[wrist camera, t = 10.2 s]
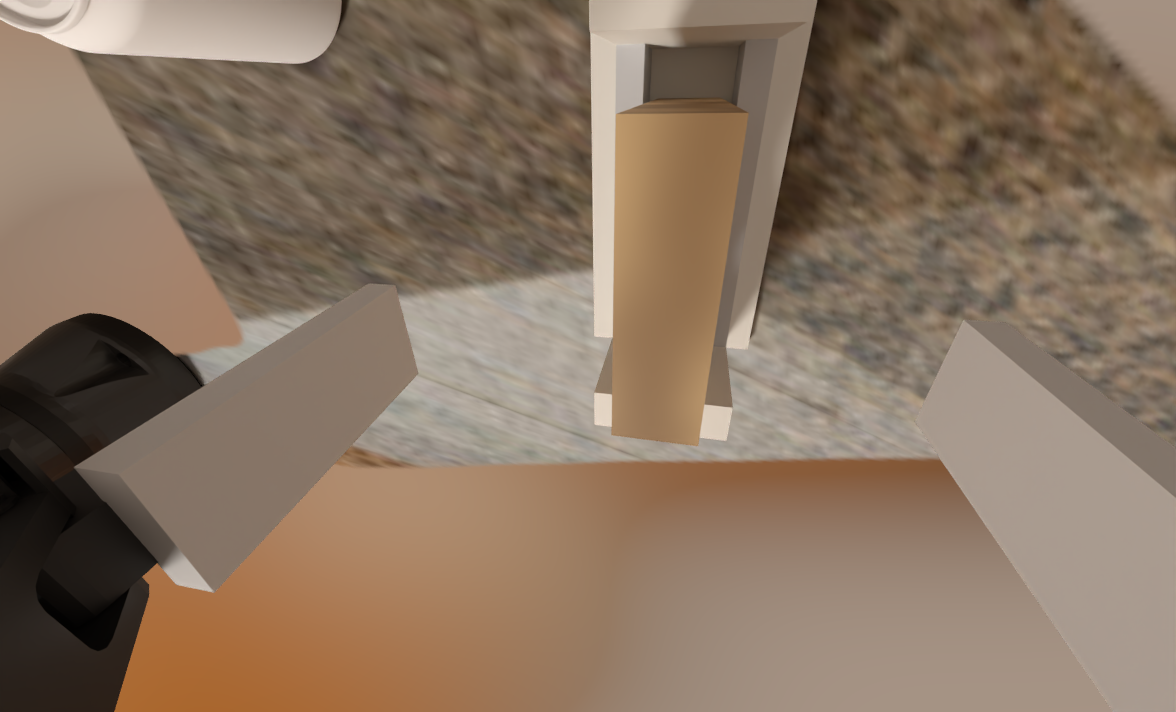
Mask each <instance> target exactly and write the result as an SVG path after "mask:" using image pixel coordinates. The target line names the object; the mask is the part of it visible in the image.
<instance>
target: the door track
mask: <svg viewBox="0 0 1176 712" xmlns="http://www.w3.org/2000/svg"><path fill="white" fill-rule="evenodd" d="M816 4H817V0H589V26H590V32H591V104H592V185H593V266H594V336H597V337H608V338H612V341H611V344H610V347H609V350H608V353H607V356H606V359H605V362H604V365H603V368H602V371H601V374H600V377H599V380H598V383H597V386H596V389H595V392H594V401H595V425H602V426H611V427H612V361H613V283H614V206H615V128H616V114H617V113H620V112H623V111H625V110H628V109H631V108H634V107H636V106H639V105H642V104H645V103H647V102H650V101H653V100H656V99H658V98H722V99H724V100H726V101H728V102H730V103H731V104H733V105H735V106H737V107H739V108H741V109H743V110H745V111H746V112H748V113H749V115H748V121H747V128H746V134H745V141H744V147H743V154H742V161H741V167H740V174H739V180H738V187H737V193H736V200H735V207H734V213H733V220H732V226H731V233H730V239H729V246H728V253H727V259H726V266H725V272H724V279H723V285H722V292H721V299H720V305H719V312H718V318H717V325H716V331H715V338H714V345H713V351H712V358H711V364H710V371H709V377H708V384H707V391H706V397H705V404H704V410H703V417H702V423H701V430H700V438H708V439H716V440H724V441H726V440H727V435H728V429H729V424H730V419H731V414H732V409H733V406H732V397H731V388H730V379H729V370H728V361H727V352H726V348H737V349H748V344H749V339H750V334H751V329H752V324H753V319H754V314H755V309H756V304H757V299H758V294H759V289H760V284H761V279H762V274H763V269H764V264H765V259H766V254H767V249H768V244H769V239H770V234H771V229H772V224H773V219H774V214H775V209H776V204H777V199H778V194H779V189H780V184H781V179H782V174H783V169H784V164H785V159H786V154H787V149H788V144H789V139H790V134H791V129H792V124H793V119H794V114H795V109H796V104H797V99H798V94H799V89H800V84H801V79H802V74H803V69H804V64H805V59H806V54H807V49H808V44H809V39H810V34H811V29H812V24H813V19H814V14H815V9H816Z"/></svg>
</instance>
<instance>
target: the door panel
mask: <svg viewBox="0 0 1176 712" xmlns="http://www.w3.org/2000/svg"><path fill="white" fill-rule="evenodd" d="M748 115H749V113H748V112H746V111H745V110H743V109H741V108H739V107H737V106H735V105H733V104H731V103H730V102H728V101H726V100H724V99H722V98H658V99H656V100H653V101H650V102H647V103H645V104H642V105H639V106H636V107H634V108H631V109H628V110H625V111H623V112H620V113H617V114H616V128H615V206H614V283H613V361H612V435H615V436H622V437H630V438H638V439H646V440H654V441H662V442H670V443H677V444H685V445H693V446H698V443H699V437H700V430H701V423H702V417H703V410H704V404H705V397H706V391H707V384H708V377H709V371H710V364H711V358H712V351H713V345H714V338H715V331H716V325H717V318H718V312H719V305H720V299H721V292H722V285H723V279H724V272H725V266H726V259H727V253H728V246H729V239H730V233H731V226H732V220H733V213H734V207H735V200H736V193H737V187H738V180H739V174H740V167H741V161H742V154H743V147H744V141H745V134H746V128H747V121H748Z"/></svg>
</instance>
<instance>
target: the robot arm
mask: <svg viewBox="0 0 1176 712" xmlns="http://www.w3.org/2000/svg"><path fill="white" fill-rule="evenodd" d="M417 374H418V370H417V366H416V362H415V359H414V355H413V351H412V347H411V344H410V340H409V336H408V332H407V328H406V325H405V321H404V317H403V313H402V310H401V306H400V302H399V298H398V294H397V291H396V287H395V285H384V284H367V285H366V286H364V287H362V288H361V289H359V290H358V291H356V292H354V293H353V294H351V295H349V296H348V297H346V298H345V299H343V300H341V301H340V302H338V303H337V304H335V305H333V306H332V307H330V308H329V309H327V310H325V311H324V312H322V313H321V314H319V315H317V316H316V317H314V318H313V319H311V320H309V321H308V322H306V323H304V324H303V325H301V326H300V327H298V328H296V329H295V330H293V331H292V332H290V333H288V334H287V335H285V336H284V337H282V338H280V339H279V340H277V341H276V342H274V343H272V344H271V345H269V346H268V347H266V348H264V349H263V350H261V351H259V352H258V353H256V354H255V355H253V356H251V357H250V358H248V359H247V360H245V361H243V362H242V363H240V364H239V365H237V366H235V367H234V368H232V369H231V370H229V371H227V372H226V373H224V374H223V375H221V376H219V377H218V378H216V379H215V380H213V381H211V382H210V383H208V384H206V385H205V386H203V387H202V388H201V386H200V385H199V383H198V382H197V380H196V379H195V378H194V376H193V375H192V374H191V372H190V371H189V370H188V369H187V368H186V367H185V366H184V364H183V363H182V362H181V361H180V360H179V359H178V358H177V357H176V356H175V355H173V354H172V353H171V352H170V351H169V350H168V349H166V348H165V347H164V346H163V345H162V344H160V343H159V342H158V341H156V340H155V339H154V338H152V337H151V336H149V335H148V334H146V333H145V332H143V331H141V330H140V329H138V328H136V327H134V326H132V325H130V324H128V323H126V322H124V321H122V320H119V319H116V318H113V317H110V316H106V315H102V314H94V313H93V314H92V313H88V314H82V315H79V316H76V317H73V318H71V319H68V320H66V321H63V322H61V323H58V324H55V325H53V326H51V327H49V328H48V329H46V330H45V331H44V332H42V333H41V334H40V335H39V336H37V337H36V338H35V339H33V340H32V341H31V342H30V343H28V344H27V345H26V346H24V347H23V348H22V349H21V350H19V351H18V352H17V353H15V354H14V355H13V356H11V357H10V358H9V359H8V360H6V361H5V362H4V363H2V364H1V365H0V712H114V710H115V707H116V704H117V701H118V697H119V694H120V691H121V687H122V684H123V681H124V677H125V674H126V671H127V667H128V664H129V661H130V657H131V654H132V651H133V647H134V644H135V641H136V637H137V634H138V631H139V627H140V624H141V621H142V617H143V614H144V611H145V607H146V604H147V601H148V597H149V584H148V583H147V582H146V581H145V580H144V579H143V578H142V576H143V575H144V574H145V573H147V572H148V571H149V570H150V569H151V568H152V567H153V566H154V565H155V564H156V563H158V564H159V565H160V567H161V568H162V569H163V570H164V571H165V572H166V573H167V574H168V576H169V577H170V578H171V579H172V580H173V581H174V583H175V584H176V585H181V586H186V587H190V588H195V589H200V590H205V591H210V592H215V591H216V590H217V589H218V588H219V587H220V586H221V585H222V584H223V583H224V582H225V581H226V579H227V578H228V577H229V576H230V575H231V574H232V573H233V572H234V571H235V570H236V569H237V568H238V567H239V566H240V564H241V563H242V562H243V561H244V560H245V559H246V558H247V557H248V556H249V555H250V554H251V553H252V551H253V550H254V549H255V548H256V547H257V546H258V545H259V544H260V543H261V542H262V541H263V540H264V539H265V538H266V536H267V535H268V534H269V533H270V532H271V531H272V530H273V529H274V528H275V527H276V526H277V525H278V524H279V522H280V521H281V520H282V519H283V518H284V517H285V516H286V515H287V514H288V513H289V512H290V511H291V510H292V509H293V508H294V506H295V505H296V504H297V503H298V502H299V501H300V500H301V499H302V498H303V497H304V496H305V495H306V494H307V492H308V491H309V490H310V489H311V488H312V487H313V486H314V485H315V484H316V483H317V482H318V481H319V480H320V478H321V477H322V476H323V475H324V474H325V473H326V472H327V471H328V470H329V469H330V468H331V467H332V466H333V465H334V463H335V462H336V461H337V460H338V459H339V458H340V457H341V456H342V455H343V454H344V453H345V452H346V451H347V450H348V448H349V447H350V446H351V445H352V444H353V443H354V442H355V441H356V440H357V439H358V438H359V437H360V436H361V434H362V433H363V432H364V431H365V430H366V429H367V428H368V427H369V426H370V425H371V424H372V423H373V422H374V421H375V419H376V418H377V417H378V416H379V415H380V414H381V413H382V412H383V411H384V410H385V409H386V408H387V407H388V405H389V404H390V403H391V402H392V401H393V400H394V399H395V398H396V397H397V396H398V395H399V394H400V393H401V392H402V390H403V389H404V388H405V387H406V386H407V385H408V384H409V383H410V382H411V381H412V380H413V379H414V378H415V376H416V375H417ZM915 423H916V424H917V426H918V427H919V429H920V430H921V432H922V433H923V434H924V436H925V437H926V439H927V440H928V442H929V443H930V445H931V446H932V448H933V449H934V451H935V452H936V453H937V455H938V456H939V458H940V459H941V461H942V462H943V464H944V465H945V467H946V468H947V470H948V471H949V473H950V474H951V475H952V477H953V478H954V480H955V481H956V483H957V484H958V486H959V487H960V489H961V490H962V492H963V493H964V494H965V496H966V497H967V499H968V500H969V502H970V503H971V505H972V506H973V508H974V509H975V510H976V512H977V513H978V515H979V516H980V518H981V519H982V521H983V522H984V524H985V525H986V527H987V528H988V530H989V531H990V532H991V534H992V535H993V537H994V538H995V540H996V541H997V543H998V544H999V546H1000V547H1001V549H1002V550H1003V552H1004V553H1005V554H1006V556H1007V557H1008V559H1009V560H1010V562H1011V563H1012V565H1013V566H1014V568H1015V569H1016V571H1017V572H1018V573H1019V575H1020V577H1021V578H1022V579H1023V581H1024V582H1025V584H1026V585H1027V587H1028V588H1029V590H1030V591H1031V592H1032V594H1033V596H1034V597H1035V598H1036V600H1037V601H1038V603H1039V604H1040V606H1041V607H1042V609H1043V610H1044V612H1045V613H1046V614H1047V616H1048V617H1049V619H1050V620H1051V622H1052V623H1053V625H1054V626H1055V628H1056V629H1057V631H1058V632H1059V634H1060V635H1061V637H1062V638H1063V639H1064V641H1065V642H1066V644H1067V645H1068V647H1069V648H1070V650H1071V651H1072V653H1073V654H1074V655H1075V657H1076V658H1077V660H1078V661H1079V663H1080V664H1081V666H1082V667H1083V669H1084V670H1085V672H1086V673H1087V675H1088V676H1089V677H1090V679H1091V680H1092V682H1093V683H1094V685H1095V686H1096V688H1097V689H1098V691H1099V692H1100V694H1101V695H1102V697H1103V698H1104V700H1105V701H1106V702H1107V704H1108V705H1109V707H1110V708H1111V710H1112V711H1113V712H1176V448H1175V447H1174V446H1172V445H1171V444H1170V443H1168V442H1167V441H1166V440H1164V439H1163V438H1161V437H1160V436H1159V435H1157V434H1156V433H1155V432H1153V431H1152V430H1151V429H1149V428H1148V427H1147V426H1145V425H1144V424H1143V423H1141V422H1140V421H1138V420H1137V419H1136V418H1134V417H1133V416H1132V415H1130V414H1129V413H1128V412H1126V411H1125V410H1124V409H1122V408H1121V407H1119V406H1118V405H1117V404H1115V403H1114V402H1113V401H1111V400H1110V399H1109V398H1107V397H1106V396H1105V395H1103V394H1102V393H1101V392H1099V391H1098V390H1096V389H1095V388H1094V387H1092V386H1091V385H1090V384H1088V383H1087V382H1086V381H1084V380H1083V379H1082V378H1080V377H1079V376H1078V375H1076V374H1075V373H1073V372H1072V371H1071V370H1069V369H1068V368H1067V367H1065V366H1064V365H1063V364H1061V363H1060V362H1059V361H1057V360H1056V359H1054V358H1053V357H1052V356H1050V355H1049V354H1048V353H1046V352H1045V351H1044V350H1042V349H1041V348H1040V347H1038V346H1037V345H1036V344H1034V343H1033V342H1031V341H1030V340H1029V339H1027V338H1026V337H1025V336H1023V335H1022V334H1021V333H1019V332H1018V331H1017V330H1015V329H1014V328H1012V327H1011V326H1010V325H1008V324H1007V323H1006V322H993V321H977V320H963V322H962V324H961V326H960V328H959V330H958V332H957V334H956V337H955V339H954V341H953V343H952V345H951V347H950V349H949V351H948V353H947V355H946V357H945V360H944V362H943V364H942V366H941V368H940V370H939V372H938V374H937V376H936V378H935V380H934V382H933V385H932V387H931V389H930V391H929V393H928V395H927V397H926V399H925V401H924V403H923V405H922V407H921V410H920V412H919V414H918V416H917V418H916V420H915Z"/></svg>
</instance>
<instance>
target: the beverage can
mask: <svg viewBox="0 0 1176 712" xmlns="http://www.w3.org/2000/svg"><path fill="white" fill-rule="evenodd" d="M341 5H342V0H0V20H2V21H4V22H6V23H8V24H10V25H12V26H14V27H17V28H19V29H22V30H25V31H28V32H33V33H39V34H41V35H43V36H44V37H46V38H48V39H50V40H53V41H55V42H57V43H59V44H62V45H65V46H67V47H70V48H73V49H76V50H80V51H85V52H90V53H101V54H119V55H138V56H157V57H177V58H196V59H215V60H234V61H253V62H273V63H294V64H297V63H305V62H308V61H311V60H313V59H315V58H317V57H318V56H320V55H321V54H322V53H323V52H324V51H325V50H326V49H327V48H328V47H329V45H330V44H331V42H332V40H333V38H334V36H335V34H336V31H337V28H338V25H339V21H340V15H341Z"/></svg>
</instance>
